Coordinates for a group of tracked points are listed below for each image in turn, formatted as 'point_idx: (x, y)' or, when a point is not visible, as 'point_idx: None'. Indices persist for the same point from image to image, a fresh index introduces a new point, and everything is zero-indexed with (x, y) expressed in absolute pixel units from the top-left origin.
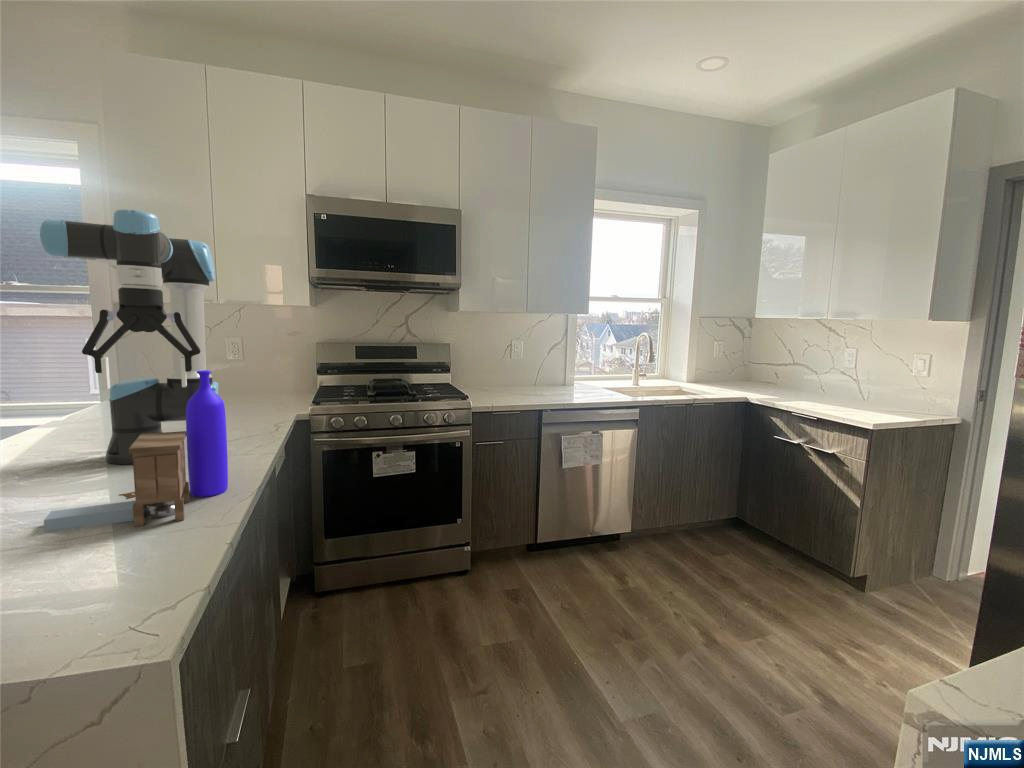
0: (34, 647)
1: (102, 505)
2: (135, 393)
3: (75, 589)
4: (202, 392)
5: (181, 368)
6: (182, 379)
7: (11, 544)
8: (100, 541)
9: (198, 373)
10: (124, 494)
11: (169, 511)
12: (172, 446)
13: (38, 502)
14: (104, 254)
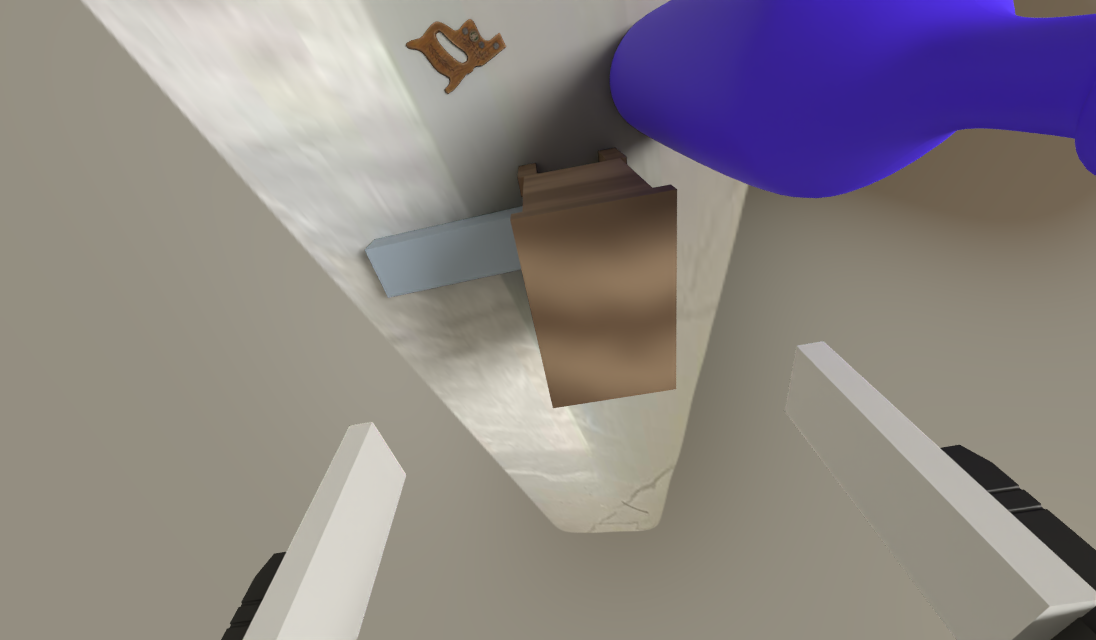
0: (559, 511)
1: (455, 235)
2: None
3: (547, 448)
4: (897, 153)
5: (885, 541)
6: (823, 454)
7: (377, 324)
8: (513, 338)
9: (1078, 155)
10: (424, 50)
11: None
12: (657, 390)
13: (215, 67)
14: None
